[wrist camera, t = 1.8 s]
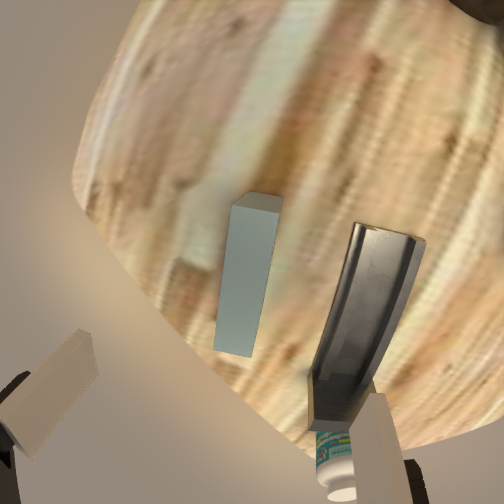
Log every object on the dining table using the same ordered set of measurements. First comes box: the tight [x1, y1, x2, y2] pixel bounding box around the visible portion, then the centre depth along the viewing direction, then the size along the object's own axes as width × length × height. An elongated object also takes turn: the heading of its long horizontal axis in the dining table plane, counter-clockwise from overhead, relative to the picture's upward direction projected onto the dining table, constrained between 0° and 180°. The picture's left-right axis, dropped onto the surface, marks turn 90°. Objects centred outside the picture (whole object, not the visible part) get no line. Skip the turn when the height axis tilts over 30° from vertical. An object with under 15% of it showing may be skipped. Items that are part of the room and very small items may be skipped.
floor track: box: [308, 222, 426, 433], centre depth 26 cm, size 20×8×9 cm, turn 171°
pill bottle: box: [316, 431, 357, 502], centre depth 29 cm, size 8×7×14 cm
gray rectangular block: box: [213, 191, 283, 358], centre depth 25 cm, size 12×3×9 cm, turn 171°
